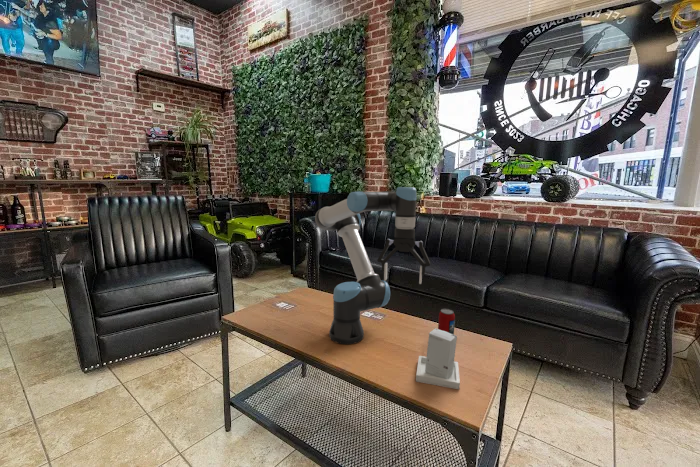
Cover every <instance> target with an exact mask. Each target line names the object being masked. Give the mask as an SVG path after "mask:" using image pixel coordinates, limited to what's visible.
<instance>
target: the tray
mask: <svg viewBox="0 0 700 467" xmlns="http://www.w3.org/2000/svg"><path fill="white" fill-rule="evenodd" d="M426 358H427V356H424V355H418V360H417V369H416V375H415V382H416V383H422V384H429V385H431V386H432V385H434V386H438V387H439V386H440V387H444V388H449V389H456V390H460V386H461V383H460V382H461V380H460V370H459V361H456V360H454V366H453V374H452V375H451V376H450V377H449V378H448V379H444V378H439V377H437V376H434V375H432V374H429V373H427V372H425V367H426Z"/></svg>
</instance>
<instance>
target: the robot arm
mask: <svg viewBox="0 0 700 467" xmlns="http://www.w3.org/2000/svg"><path fill="white" fill-rule="evenodd" d="M416 210H417V189H416V187H414V186H412V187H411V186H407V187H406V186H398V187H397V188H396V191H362V190H361V191H359V190H357V191H351V192H350V193H349V194H348V195H347V198H345V199H343V200H341V201H339V202H336V203H335V204H333V205H331V206H323V207H322V208H320V209H318V210H317V211H316V213H315V216H314V217H315V218H314V219H315V220H314V222H315V224H316V225H317V226H318V228H320V230H321V229H322V230H324V231H326V232H327V231H328V232H329V231H336V233H337V235H338V237H341V238H342V241H343V243H344V246H345V249H346V251H347V253H348V254H347V255H348V257H349V260H350V263H351V266H352V268H353V271H354V274H355V277H356V281H345V282H341V283H339V284H337V285H336V286H335V287H334V290H333V296H332V299H333V314H332V315H333V316H332V318H333V319H332V322H331V325H330V328H329V331H328V332H329V334H328V335H329V336H328V337H329V339H330V340H331V341H333V342H334V343H337V344H340V345H352V344H353V345H354V344H357V343H359V342H361V341H362V340H363V339H364V335H365V333H364V332H365V331H364V328H363V325H362V321H361V312H364V311H368V310H369V311H370V310H373V309H379V308H382V307H385V306H386V305H387V304H388V303H389V301H390V298H391V288H390V285H389V283H388V282H387V279H388V262H387V261H388V260H389V259H391V258H392V256H393V255H394V254H395V253H396V252H397V251H398V252H400V253H401V252H403V253H409V252H410V253H411V254H412V255H413V257H414V258H415V260H417V262H418V263H419V264H420V265H419V277H418V278H419V281H418V284H419V285H422V281H423V280H422V279H423V276H425V274H426V267H430V266H431V261H430V259H429V257H428V254H427V252H426V250H425V247H424V242H423V241H422V240H420V241H419V240H418V241H416V239H415V234H416V233H415V232H416V229H415V227H416ZM378 211H379V212H382V211H390V212H395V215H394V216H395V218H394V219H395V220H394V221H395V222H394V223H395V224H394V226H395V228H394V239H390V238H387V239H386V241H385V245H384V247H383V249H382V252H381V253H380V255H379V256H378V258H377V262H378V263H380V264H381V272H383V279H382V280H381V277H380V275H379V274H378V273H375V271H374V268H373V266H372V263H371V261H370V258H369V256H368V253H367V250H366V248H365V246H364V243H363V240H362V238H361V236H360V233H359V230H360V227H361V223H362V220H361V218H362V217H361V214H362V213H364V212H378ZM392 244H393V245H394V248H393V249H392V251H390V252H389V254H388V255H387V256H386V257H385V258H384V256H385V254H386V252H387V251H388V249H389V247H390V246H391V245H392ZM415 246H417V247H418V248H419V251H420V252H421V255H422V257H423V259H424V260H423V259H422V257H421V256H420V255H419V253H417V251H416V249H415V248H414V247H415Z"/></svg>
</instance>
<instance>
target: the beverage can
mask: <svg viewBox="0 0 700 467" xmlns="http://www.w3.org/2000/svg"><path fill="white" fill-rule="evenodd" d="M455 322H456V315H455V313H454V310H452V309H451V308H450V309H449V308H441V309H440V311H439V313H438V325H437V326H438V327H437V329H439V330H442V331H446V332H448V333H451V334H453V335H455V326H456V325H455Z"/></svg>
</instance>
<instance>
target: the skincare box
mask: <svg viewBox="0 0 700 467" xmlns="http://www.w3.org/2000/svg"><path fill="white" fill-rule="evenodd" d="M457 339H458V335H455V334H454V335H453V334H451V333H448V332H446V331H442V330H439V329H438V328H436V327H435V328H434V329H433V330H431V331H430V332H429V333H428V341H427V349H426V357H427V358H426V367H425V372H427V373H429V374H432V375H434V376H437V377H439V378H444V379H448V378H449V377H450V376H451V375H452V374H453V366H454V361H455V357H456V347H457Z"/></svg>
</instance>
